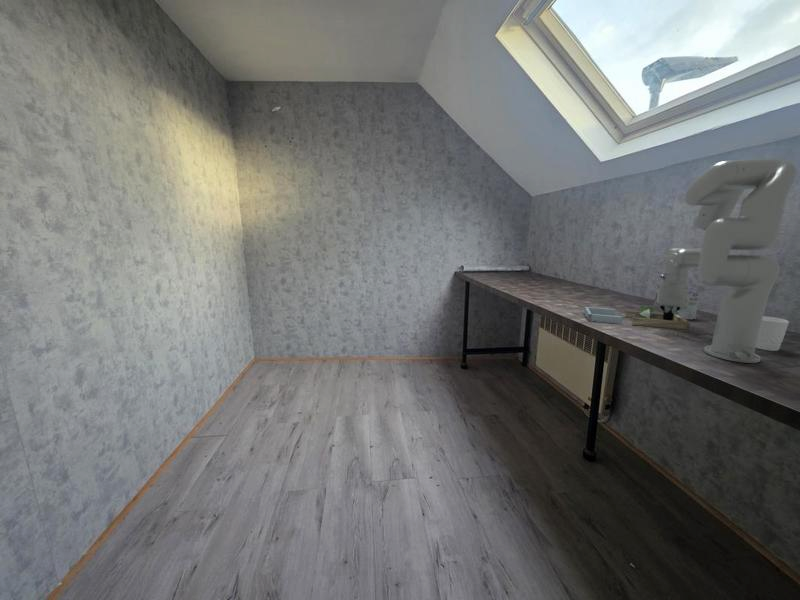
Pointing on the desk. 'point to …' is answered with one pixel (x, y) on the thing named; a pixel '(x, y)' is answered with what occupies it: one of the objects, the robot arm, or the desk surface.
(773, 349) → the white cup
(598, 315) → the bay
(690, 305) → the ink cartridge box
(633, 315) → the wooden tray
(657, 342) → the desk surface
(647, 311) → the geometric puzzle
